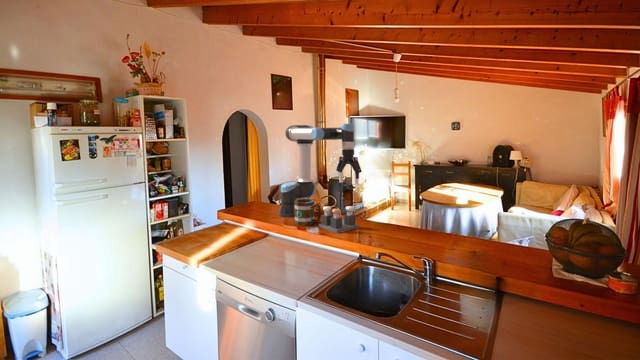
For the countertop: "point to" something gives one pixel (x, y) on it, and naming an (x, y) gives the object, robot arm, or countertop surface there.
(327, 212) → the cream knob near
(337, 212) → the terracotta knob
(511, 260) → the countertop surface
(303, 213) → the mug
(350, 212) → the cream knob left
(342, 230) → the knob mount
